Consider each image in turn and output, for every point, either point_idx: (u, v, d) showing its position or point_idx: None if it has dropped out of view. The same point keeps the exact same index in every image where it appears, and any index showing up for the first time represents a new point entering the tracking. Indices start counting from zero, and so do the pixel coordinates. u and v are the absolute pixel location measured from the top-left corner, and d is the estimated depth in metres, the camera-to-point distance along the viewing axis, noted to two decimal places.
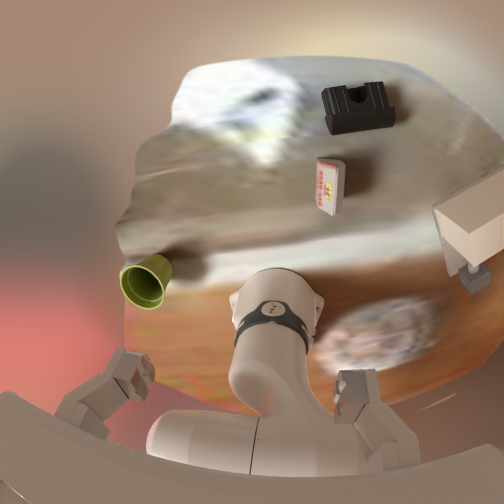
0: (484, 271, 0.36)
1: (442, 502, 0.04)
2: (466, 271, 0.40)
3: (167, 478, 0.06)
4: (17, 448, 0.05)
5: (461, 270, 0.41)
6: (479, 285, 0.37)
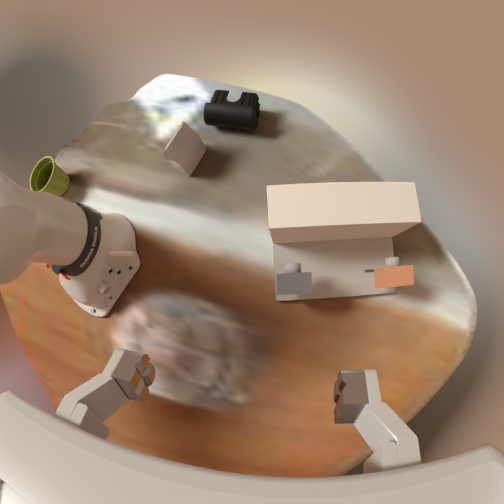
0: None
1: (442, 502, 0.04)
2: None
3: (168, 478, 0.06)
4: (17, 448, 0.05)
5: None
6: (291, 286, 0.40)
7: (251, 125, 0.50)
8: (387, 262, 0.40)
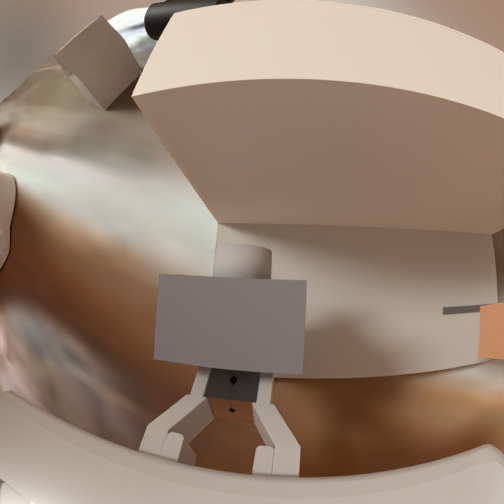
0: None
1: (442, 502, 0.04)
2: None
3: (167, 478, 0.06)
4: (17, 448, 0.05)
5: None
6: (212, 332, 0.09)
7: None
8: None
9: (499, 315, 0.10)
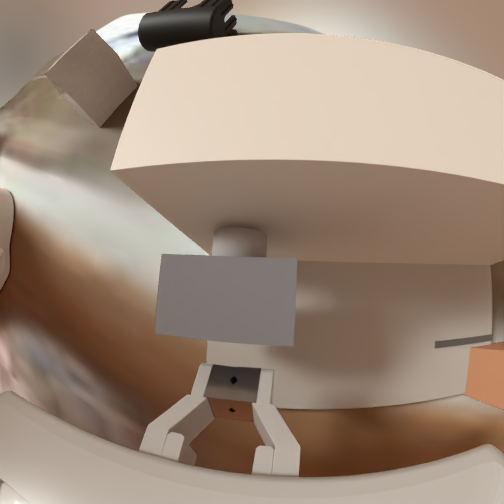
0: None
1: (442, 502, 0.04)
2: None
3: (168, 478, 0.06)
4: (17, 448, 0.05)
5: None
6: (209, 307, 0.10)
7: (210, 34, 0.22)
8: None
9: (487, 361, 0.10)
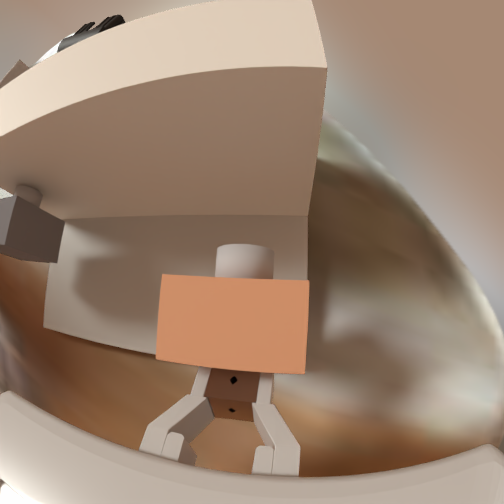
0: None
1: (442, 502, 0.04)
2: None
3: (167, 478, 0.06)
4: (17, 448, 0.05)
5: None
6: None
7: None
8: (216, 265, 0.12)
9: None
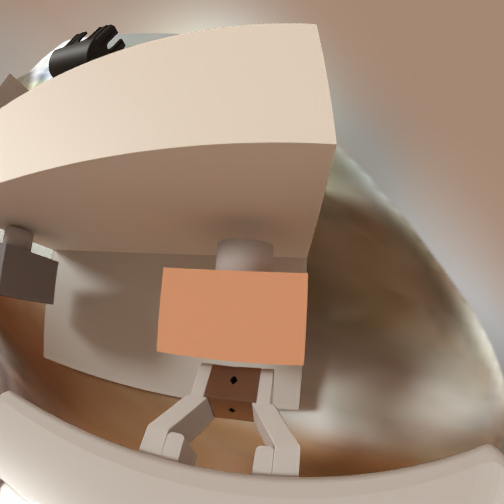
0: None
1: (442, 502, 0.04)
2: None
3: (167, 478, 0.06)
4: (17, 448, 0.05)
5: None
6: None
7: None
8: (217, 259, 0.12)
9: None
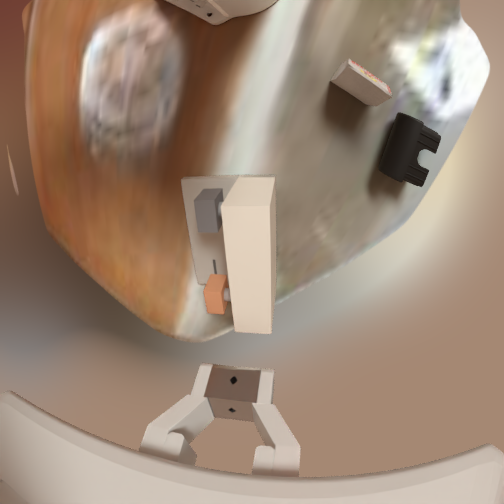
0: (217, 224, 0.40)
1: (442, 502, 0.04)
2: (220, 198, 0.41)
3: (167, 478, 0.06)
4: (17, 448, 0.05)
5: (221, 192, 0.42)
6: (203, 213, 0.39)
7: (381, 170, 0.38)
8: (228, 291, 0.49)
9: (220, 281, 0.49)
